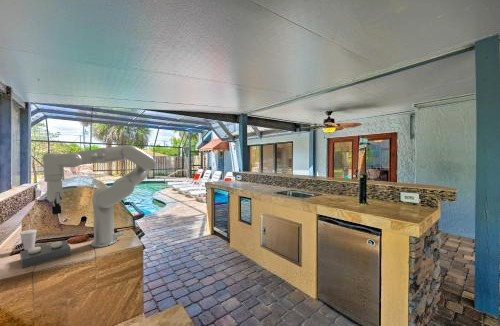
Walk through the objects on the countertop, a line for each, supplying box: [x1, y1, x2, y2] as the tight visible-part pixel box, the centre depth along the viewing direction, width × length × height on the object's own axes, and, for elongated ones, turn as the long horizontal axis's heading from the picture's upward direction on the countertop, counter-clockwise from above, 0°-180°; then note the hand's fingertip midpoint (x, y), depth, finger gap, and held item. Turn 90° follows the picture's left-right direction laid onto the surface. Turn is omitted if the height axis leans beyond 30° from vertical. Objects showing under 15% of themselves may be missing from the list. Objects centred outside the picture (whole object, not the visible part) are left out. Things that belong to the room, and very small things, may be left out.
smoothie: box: [19, 222, 38, 251], centre depth 117 cm, size 6×6×14 cm
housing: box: [19, 240, 72, 269], centre depth 109 cm, size 17×12×4 cm
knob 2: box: [50, 241, 62, 248], centre depth 112 cm, size 4×4×5 cm
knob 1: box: [28, 246, 41, 254], centre depth 106 cm, size 4×4×5 cm
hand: (57, 213), depth 112 cm, fingers closed
